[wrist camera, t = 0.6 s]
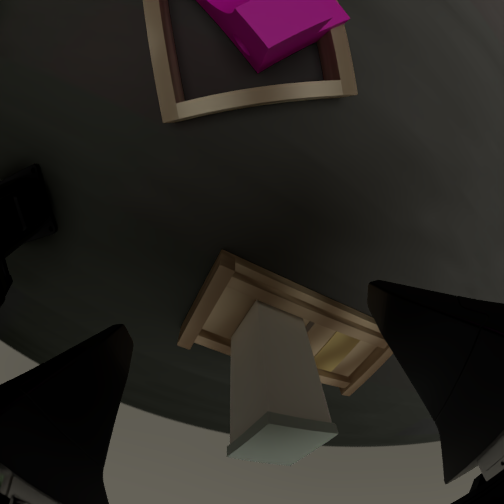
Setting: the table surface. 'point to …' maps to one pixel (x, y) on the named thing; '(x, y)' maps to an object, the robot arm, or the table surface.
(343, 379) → the wooden tray
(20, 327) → the table surface
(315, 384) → the block
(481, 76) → the table surface
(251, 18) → the toy block
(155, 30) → the block pen
